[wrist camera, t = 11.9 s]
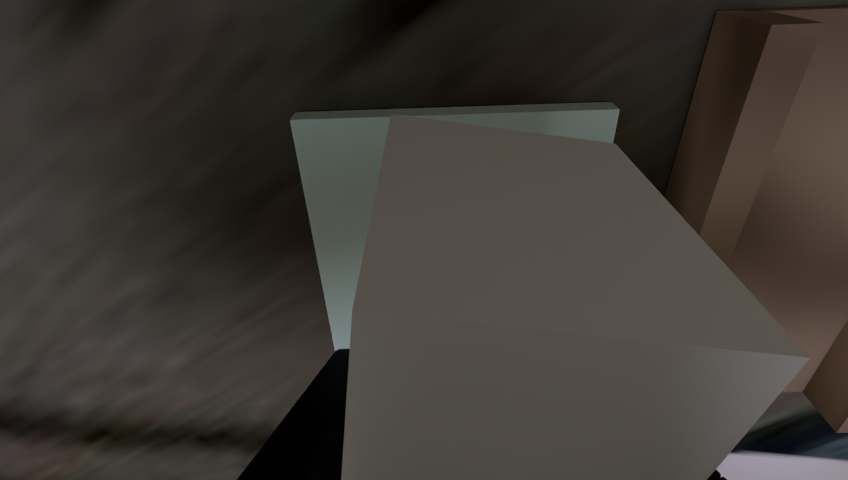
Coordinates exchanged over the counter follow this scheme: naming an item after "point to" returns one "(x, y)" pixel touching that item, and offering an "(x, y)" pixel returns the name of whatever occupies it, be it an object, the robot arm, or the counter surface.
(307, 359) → the counter surface
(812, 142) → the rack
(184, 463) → the counter surface
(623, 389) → the block
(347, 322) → the pad
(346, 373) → the robot arm
